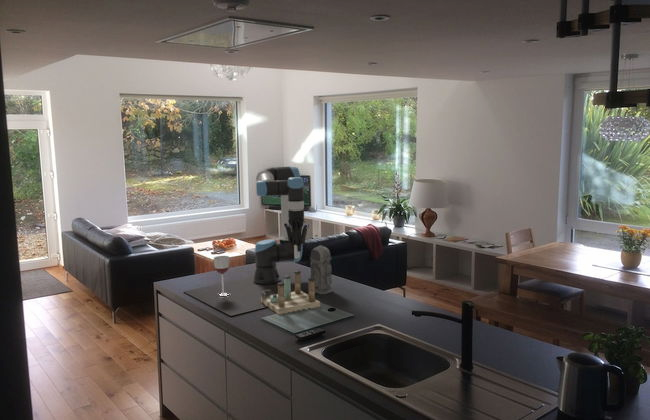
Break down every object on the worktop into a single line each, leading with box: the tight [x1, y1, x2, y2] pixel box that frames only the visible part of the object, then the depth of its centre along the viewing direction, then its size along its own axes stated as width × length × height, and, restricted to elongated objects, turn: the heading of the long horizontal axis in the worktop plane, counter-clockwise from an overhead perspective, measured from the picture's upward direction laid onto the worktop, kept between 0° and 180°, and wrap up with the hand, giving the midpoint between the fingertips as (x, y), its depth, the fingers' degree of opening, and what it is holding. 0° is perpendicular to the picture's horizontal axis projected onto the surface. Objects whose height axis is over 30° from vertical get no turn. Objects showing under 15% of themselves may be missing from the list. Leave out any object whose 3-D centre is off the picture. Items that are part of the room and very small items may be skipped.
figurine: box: [309, 244, 333, 295], centre depth 289 cm, size 10×14×25 cm
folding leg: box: [270, 275, 292, 303], centre depth 267 cm, size 12×4×11 cm, turn 133°
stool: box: [260, 270, 321, 315], centre depth 268 cm, size 22×22×14 cm
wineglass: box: [213, 255, 230, 297], centre depth 285 cm, size 8×9×20 cm
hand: (297, 257), depth 265 cm, fingers closed
